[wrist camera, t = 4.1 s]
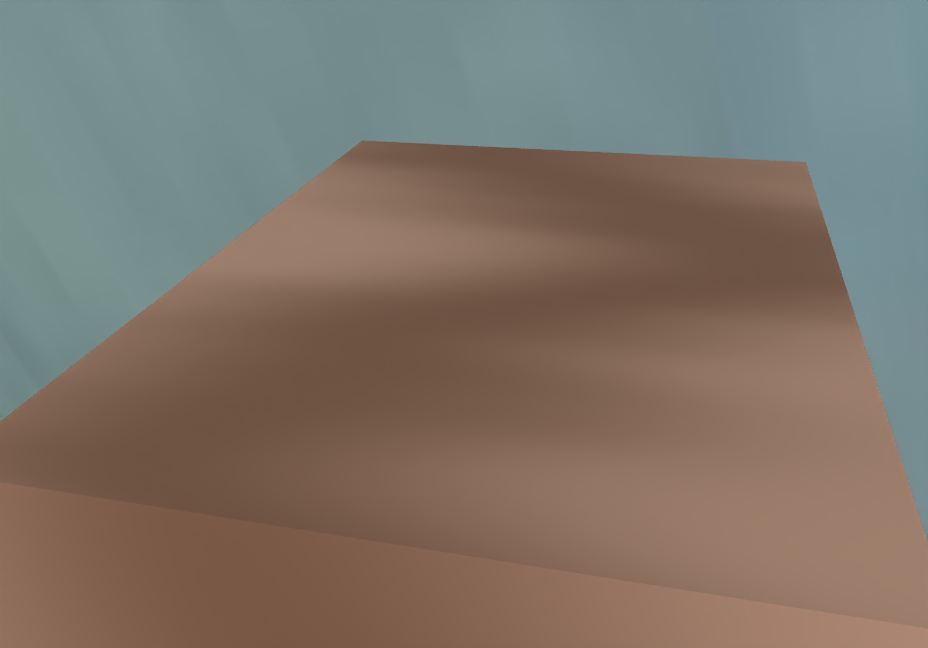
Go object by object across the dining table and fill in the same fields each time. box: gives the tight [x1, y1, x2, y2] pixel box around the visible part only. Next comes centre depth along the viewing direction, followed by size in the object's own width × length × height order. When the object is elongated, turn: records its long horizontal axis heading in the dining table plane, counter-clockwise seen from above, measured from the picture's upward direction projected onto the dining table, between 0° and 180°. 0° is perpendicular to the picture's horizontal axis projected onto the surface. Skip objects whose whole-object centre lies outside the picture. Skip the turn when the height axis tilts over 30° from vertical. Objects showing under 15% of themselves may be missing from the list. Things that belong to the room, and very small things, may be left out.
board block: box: [0, 141, 928, 648], centre depth 8 cm, size 4×7×6 cm, turn 1°
